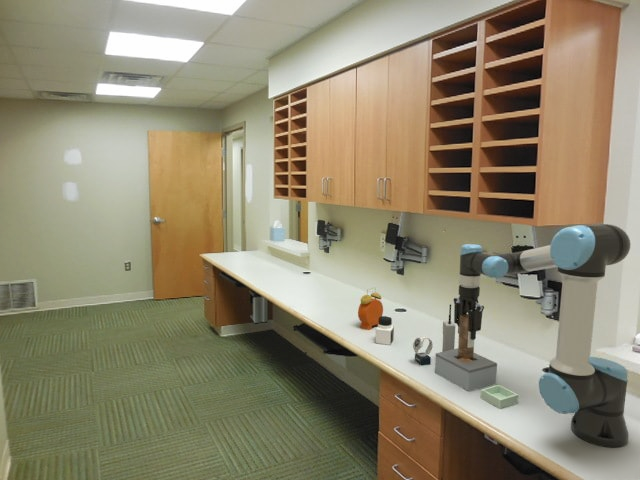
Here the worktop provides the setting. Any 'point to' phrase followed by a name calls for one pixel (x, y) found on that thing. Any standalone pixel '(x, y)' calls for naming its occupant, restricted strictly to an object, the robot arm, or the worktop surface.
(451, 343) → the grey rectangular bar
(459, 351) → the brown wooden block
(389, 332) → the medicine bottle
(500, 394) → the green square tray
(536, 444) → the worktop surface
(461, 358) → the button
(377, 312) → the alarm clock
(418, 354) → the watch
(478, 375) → the grey box with hole
